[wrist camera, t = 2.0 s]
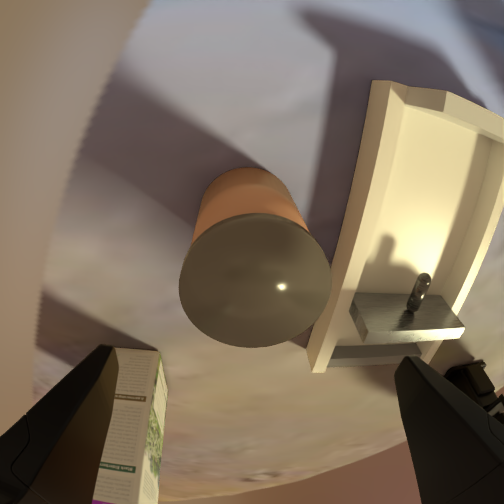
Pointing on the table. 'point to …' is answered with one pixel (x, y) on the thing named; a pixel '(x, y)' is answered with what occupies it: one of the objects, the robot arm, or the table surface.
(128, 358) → the syrup box
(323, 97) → the table surface
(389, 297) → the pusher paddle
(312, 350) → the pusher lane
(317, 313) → the terracotta jar
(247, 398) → the table surface
